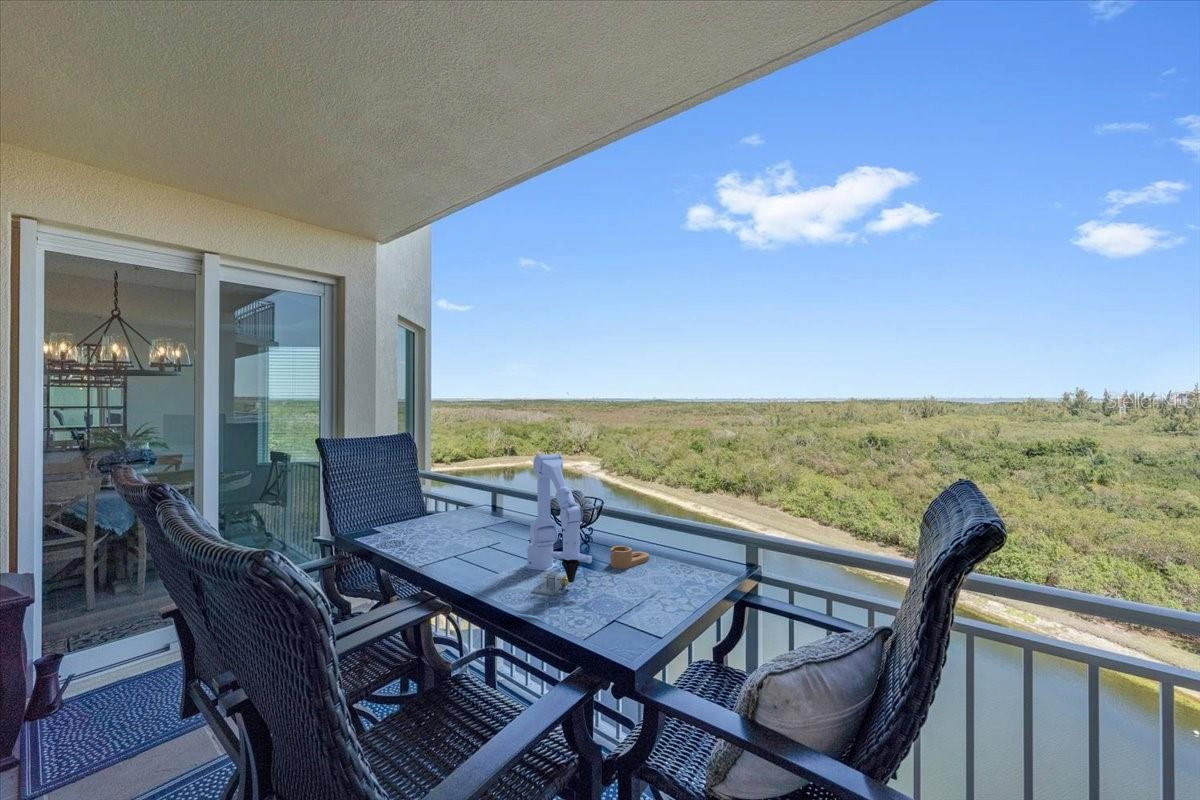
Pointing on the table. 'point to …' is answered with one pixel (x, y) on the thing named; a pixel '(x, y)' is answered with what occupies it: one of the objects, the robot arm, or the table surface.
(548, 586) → the hinge
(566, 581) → the pin
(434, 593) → the table surface
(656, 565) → the table surface
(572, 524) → the robot arm
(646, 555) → the bracket
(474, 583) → the table surface
